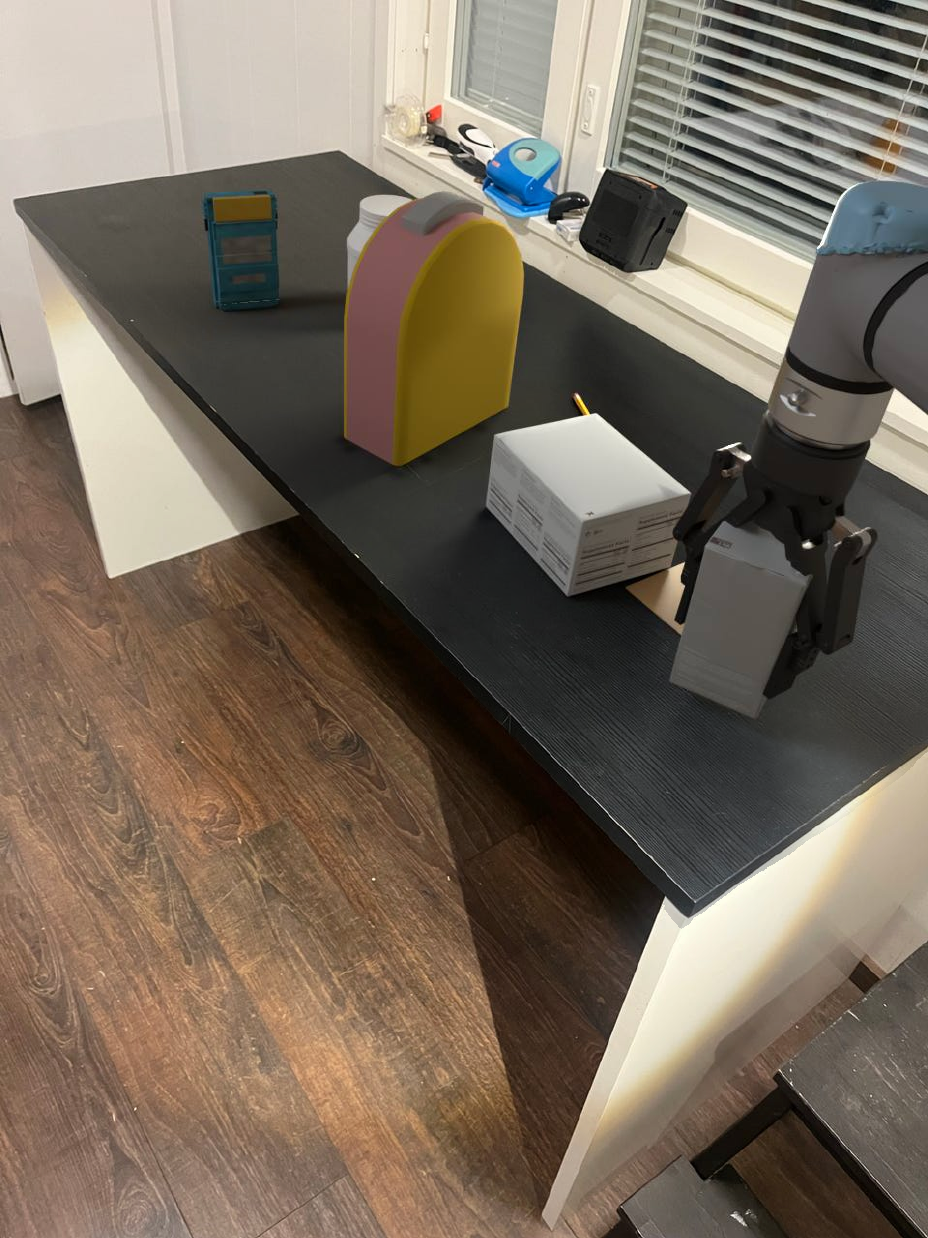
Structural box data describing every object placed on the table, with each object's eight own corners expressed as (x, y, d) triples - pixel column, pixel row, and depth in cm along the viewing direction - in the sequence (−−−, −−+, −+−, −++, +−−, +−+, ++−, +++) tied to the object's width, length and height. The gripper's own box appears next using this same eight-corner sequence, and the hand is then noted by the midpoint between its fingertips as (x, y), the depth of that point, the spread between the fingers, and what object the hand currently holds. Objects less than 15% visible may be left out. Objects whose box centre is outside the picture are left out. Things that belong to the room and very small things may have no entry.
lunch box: (456, 378, 124) (474, 165, 107) (510, 405, 120) (539, 188, 103) (341, 436, 112) (341, 204, 94) (398, 467, 108) (409, 232, 90)
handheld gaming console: (277, 295, 138) (273, 188, 128) (285, 308, 135) (281, 199, 125) (210, 301, 135) (199, 191, 125) (216, 314, 132) (206, 203, 122)
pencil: (577, 397, 124) (578, 392, 123) (610, 453, 114) (612, 448, 114) (572, 397, 123) (572, 393, 123) (604, 454, 114) (605, 449, 113)
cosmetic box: (777, 679, 84) (840, 538, 74) (751, 728, 80) (814, 585, 69) (689, 640, 87) (737, 497, 77) (658, 685, 83) (705, 540, 72)
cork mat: (853, 629, 94) (853, 628, 94) (742, 688, 86) (742, 687, 86) (734, 541, 103) (734, 540, 103) (625, 587, 95) (625, 587, 95)
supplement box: (673, 568, 98) (695, 492, 92) (566, 600, 93) (582, 522, 87) (583, 481, 109) (598, 409, 103) (483, 506, 104) (492, 431, 97)
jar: (374, 334, 132) (377, 224, 122) (334, 308, 137) (334, 200, 127) (438, 315, 138) (446, 209, 128) (397, 291, 143) (402, 187, 133)
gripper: (669, 364, 71) (611, 592, 86) (922, 522, 58) (803, 758, 73) (737, 345, 74) (671, 567, 89) (990, 490, 62) (863, 720, 76)
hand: (730, 652), depth 81 cm, fingers closed on cosmetic box, 10 cm apart
